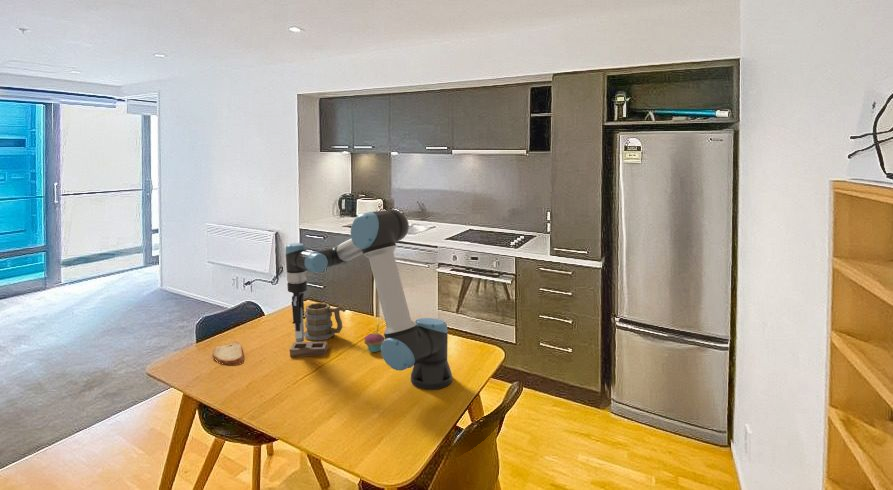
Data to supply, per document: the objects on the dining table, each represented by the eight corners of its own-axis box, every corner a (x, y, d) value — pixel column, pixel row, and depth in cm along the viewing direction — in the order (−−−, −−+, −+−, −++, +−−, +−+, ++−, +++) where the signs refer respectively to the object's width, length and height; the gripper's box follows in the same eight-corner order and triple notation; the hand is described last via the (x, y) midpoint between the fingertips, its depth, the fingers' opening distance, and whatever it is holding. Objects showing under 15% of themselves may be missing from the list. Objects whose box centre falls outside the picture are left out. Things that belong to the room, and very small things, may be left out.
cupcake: (386, 346, 214) (386, 320, 212) (382, 354, 206) (381, 326, 204) (367, 345, 215) (366, 319, 213) (361, 353, 207) (361, 326, 205)
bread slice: (238, 366, 195) (237, 357, 194) (197, 363, 198) (196, 354, 197) (263, 349, 212) (262, 340, 211) (225, 346, 215) (224, 337, 215)
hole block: (325, 355, 205) (324, 348, 204) (290, 356, 203) (289, 349, 203) (327, 348, 212) (327, 341, 212) (294, 349, 211) (293, 342, 211)
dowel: (303, 342, 205) (301, 309, 203) (295, 342, 205) (293, 309, 202) (304, 339, 208) (303, 307, 206) (296, 339, 208) (295, 307, 205)
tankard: (299, 338, 223) (297, 306, 220) (314, 329, 235) (313, 298, 232) (339, 343, 217) (337, 310, 215) (352, 334, 229) (351, 302, 227)
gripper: (302, 286, 194) (305, 343, 199) (309, 276, 210) (312, 329, 215) (283, 286, 194) (286, 343, 198) (291, 276, 209) (294, 329, 214)
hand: (299, 336), depth 206 cm, fingers closed on dowel, 3 cm apart
